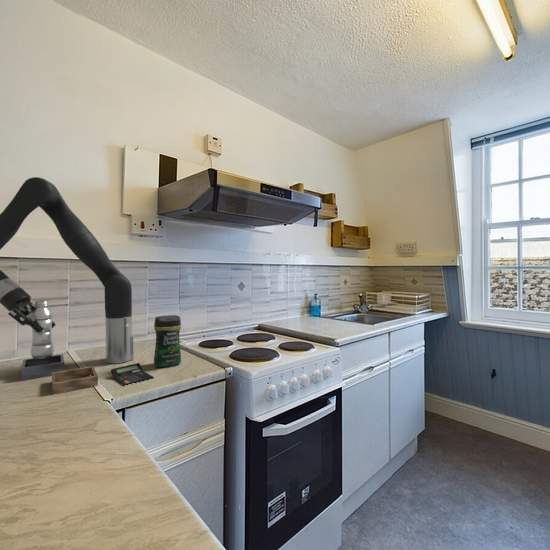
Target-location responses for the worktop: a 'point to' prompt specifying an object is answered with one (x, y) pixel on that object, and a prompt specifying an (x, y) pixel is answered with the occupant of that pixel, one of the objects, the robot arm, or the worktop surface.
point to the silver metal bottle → (43, 339)
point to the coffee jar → (167, 341)
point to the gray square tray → (41, 367)
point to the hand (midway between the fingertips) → (47, 328)
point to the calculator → (130, 374)
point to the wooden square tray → (75, 383)
